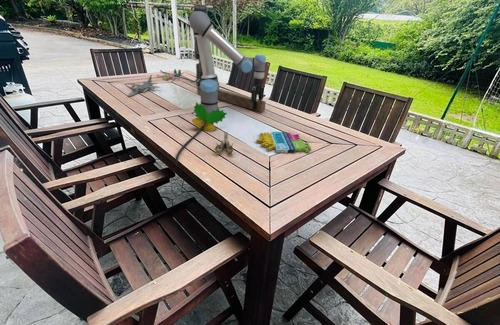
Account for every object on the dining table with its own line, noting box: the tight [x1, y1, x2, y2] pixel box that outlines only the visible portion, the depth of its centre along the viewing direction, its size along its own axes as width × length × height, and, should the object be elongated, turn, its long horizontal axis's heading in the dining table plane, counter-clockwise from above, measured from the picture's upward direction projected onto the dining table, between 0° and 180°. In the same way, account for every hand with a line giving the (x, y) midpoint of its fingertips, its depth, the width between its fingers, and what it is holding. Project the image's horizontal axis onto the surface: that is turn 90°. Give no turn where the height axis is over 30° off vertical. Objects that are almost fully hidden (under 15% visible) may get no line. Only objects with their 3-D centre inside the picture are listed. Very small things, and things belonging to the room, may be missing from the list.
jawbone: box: [214, 131, 234, 156], centre depth 136 cm, size 9×15×10 cm
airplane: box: [127, 74, 159, 97], centre depth 228 cm, size 38×32×10 cm
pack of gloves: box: [256, 131, 312, 154], centre depth 152 cm, size 26×2×30 cm
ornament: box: [191, 102, 228, 132], centre depth 162 cm, size 21×8×15 cm, turn 105°
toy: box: [155, 68, 182, 81], centre depth 281 cm, size 28×7×30 cm
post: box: [196, 83, 266, 113], centre depth 214 cm, size 71×5×7 cm, turn 51°
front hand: (256, 108), depth 200 cm, fingers closed on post, 5 cm apart
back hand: (203, 90), depth 230 cm, fingers closed on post, 5 cm apart
